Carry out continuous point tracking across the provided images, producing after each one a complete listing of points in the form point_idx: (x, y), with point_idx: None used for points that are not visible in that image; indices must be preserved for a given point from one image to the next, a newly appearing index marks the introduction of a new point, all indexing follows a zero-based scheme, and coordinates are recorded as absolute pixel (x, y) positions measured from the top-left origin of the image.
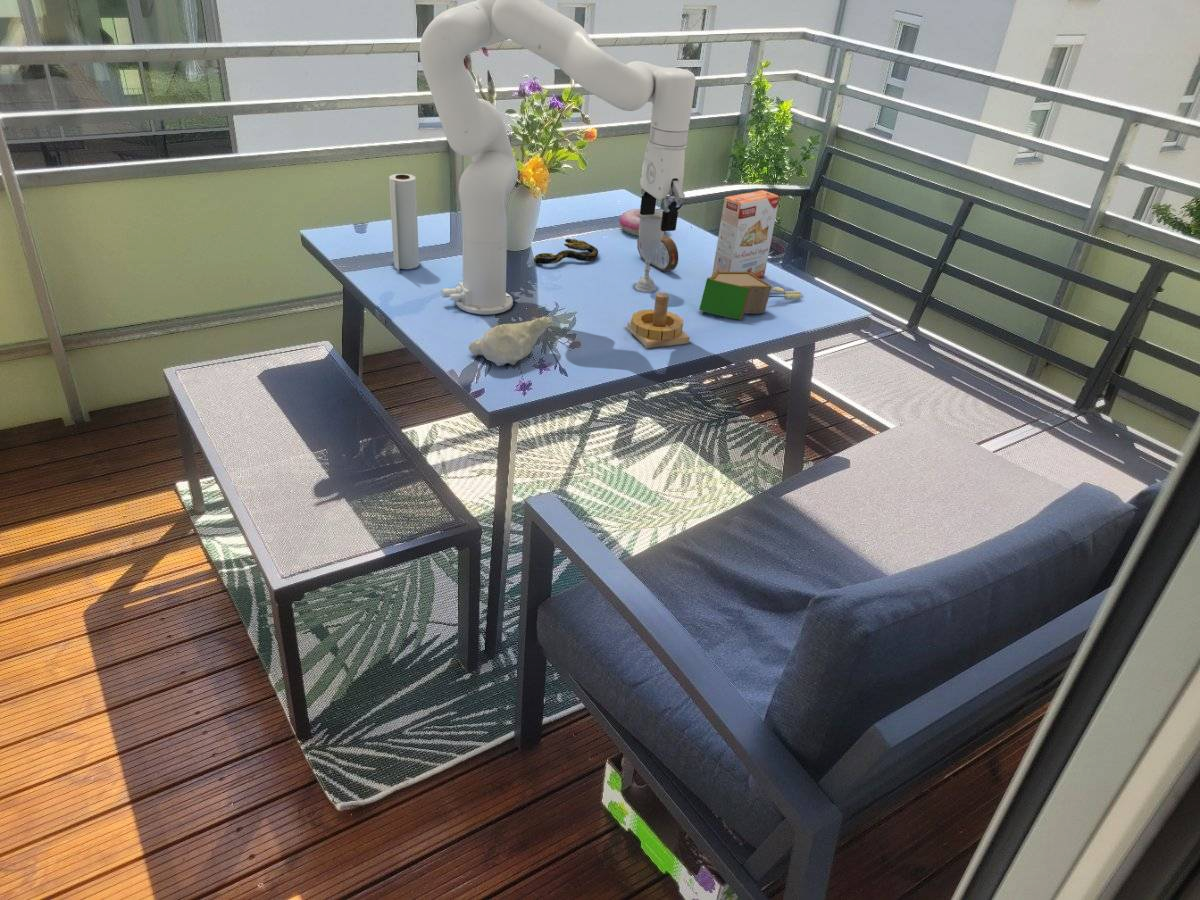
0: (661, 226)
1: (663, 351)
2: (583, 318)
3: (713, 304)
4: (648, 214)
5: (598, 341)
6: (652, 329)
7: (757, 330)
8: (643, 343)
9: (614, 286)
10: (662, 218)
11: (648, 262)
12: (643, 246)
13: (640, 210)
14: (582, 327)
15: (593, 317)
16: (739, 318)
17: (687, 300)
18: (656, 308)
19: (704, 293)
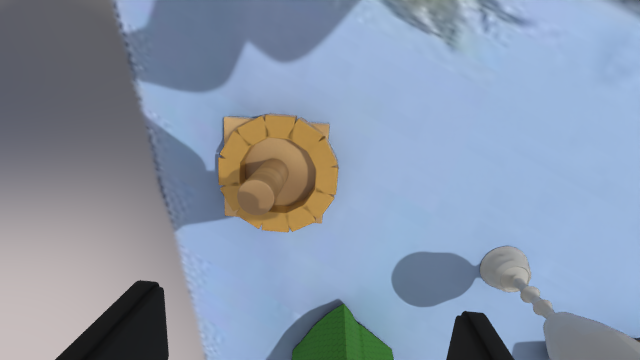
0: (129, 294)
1: (209, 143)
2: (415, 50)
3: (324, 331)
4: (448, 354)
5: (291, 26)
6: (233, 138)
7: (245, 352)
8: (244, 117)
9: (544, 209)
10: (89, 338)
11: (534, 303)
12: (572, 318)
13: (486, 327)
14: (371, 23)
15: (411, 77)
16: (293, 351)
17: (409, 312)
18: (257, 171)
19: (343, 334)
